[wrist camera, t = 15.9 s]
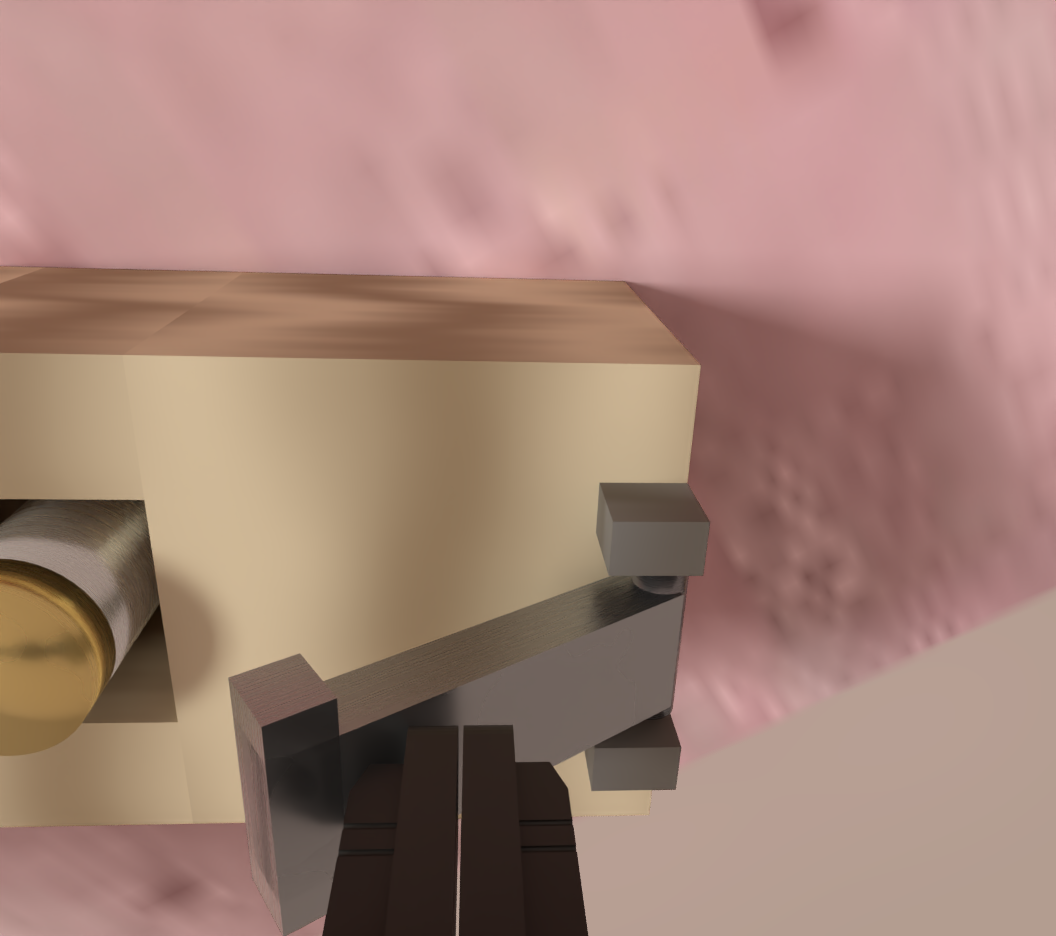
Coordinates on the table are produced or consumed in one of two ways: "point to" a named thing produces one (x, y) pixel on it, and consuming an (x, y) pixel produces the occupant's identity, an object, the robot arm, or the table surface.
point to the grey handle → (442, 715)
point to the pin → (67, 611)
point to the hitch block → (336, 492)
